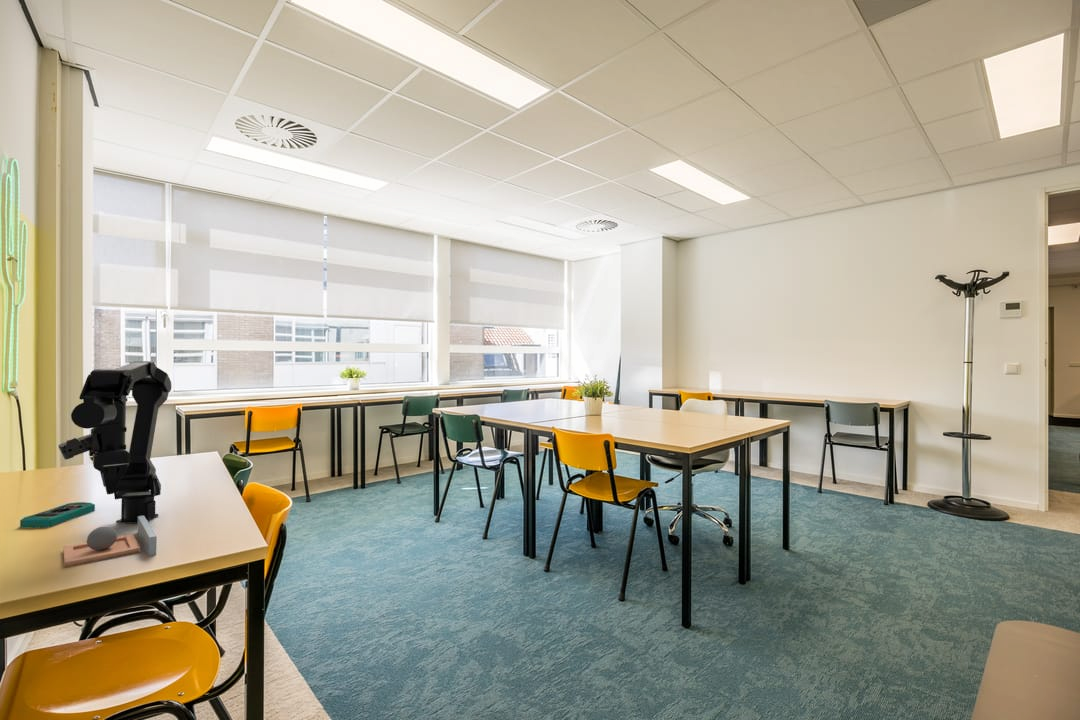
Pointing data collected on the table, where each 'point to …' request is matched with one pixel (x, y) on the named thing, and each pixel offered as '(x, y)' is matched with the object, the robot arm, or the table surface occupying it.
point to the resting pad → (99, 551)
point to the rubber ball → (101, 538)
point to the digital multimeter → (57, 515)
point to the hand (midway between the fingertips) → (108, 490)
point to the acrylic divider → (147, 535)
